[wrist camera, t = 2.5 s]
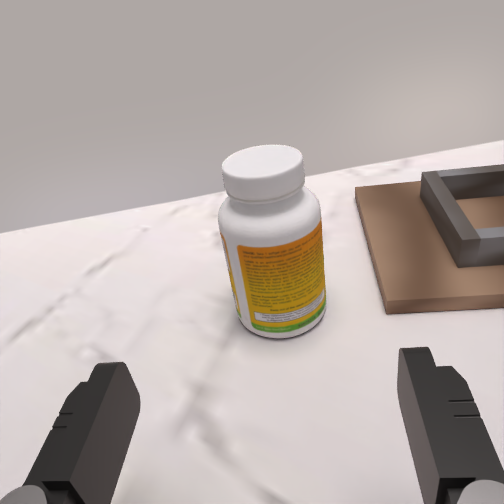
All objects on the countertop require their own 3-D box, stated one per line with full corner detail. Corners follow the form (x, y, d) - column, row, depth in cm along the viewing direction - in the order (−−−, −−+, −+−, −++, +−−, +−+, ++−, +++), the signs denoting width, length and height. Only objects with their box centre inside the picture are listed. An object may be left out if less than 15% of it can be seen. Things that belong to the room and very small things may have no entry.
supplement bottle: (345, 306, 26) (342, 151, 20) (279, 357, 23) (254, 196, 18) (284, 270, 30) (267, 131, 24) (220, 311, 27) (185, 166, 22)
